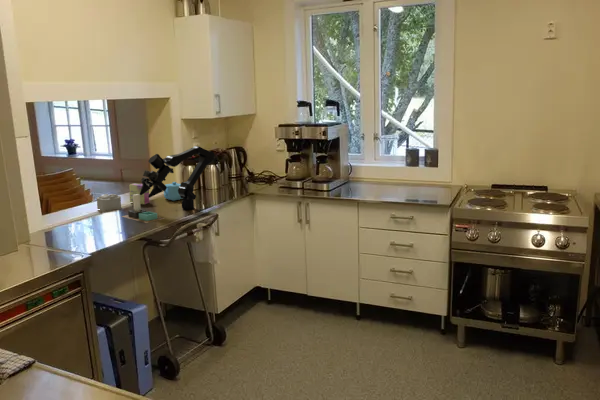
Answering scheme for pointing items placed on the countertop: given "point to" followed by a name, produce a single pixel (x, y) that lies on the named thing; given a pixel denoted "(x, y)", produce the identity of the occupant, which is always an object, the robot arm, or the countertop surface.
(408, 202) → the countertop surface
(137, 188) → the box
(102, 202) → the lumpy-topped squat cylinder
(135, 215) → the panel board
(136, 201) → the plug
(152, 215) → the port
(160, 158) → the robot arm
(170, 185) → the teapot
